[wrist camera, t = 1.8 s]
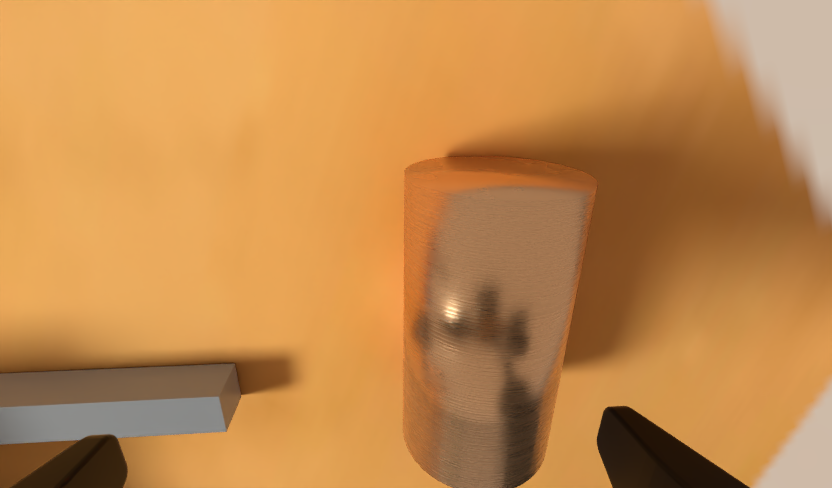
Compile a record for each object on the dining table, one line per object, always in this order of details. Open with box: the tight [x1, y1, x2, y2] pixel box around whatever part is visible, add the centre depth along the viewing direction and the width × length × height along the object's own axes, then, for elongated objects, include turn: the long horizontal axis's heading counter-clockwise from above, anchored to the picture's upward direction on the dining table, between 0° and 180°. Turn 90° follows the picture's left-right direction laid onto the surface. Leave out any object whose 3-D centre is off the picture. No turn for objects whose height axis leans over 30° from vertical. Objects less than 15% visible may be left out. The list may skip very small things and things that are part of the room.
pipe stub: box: [403, 156, 598, 488], centre depth 11 cm, size 8×4×4 cm
